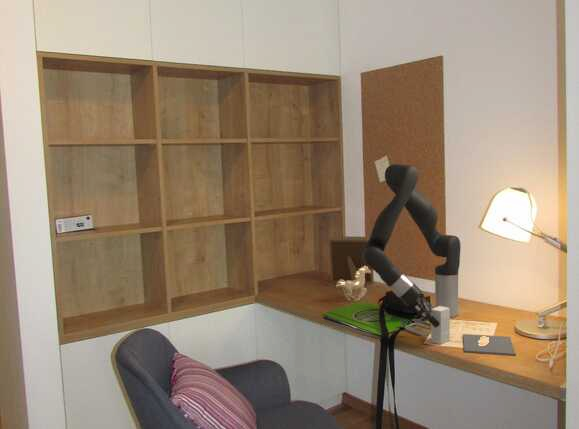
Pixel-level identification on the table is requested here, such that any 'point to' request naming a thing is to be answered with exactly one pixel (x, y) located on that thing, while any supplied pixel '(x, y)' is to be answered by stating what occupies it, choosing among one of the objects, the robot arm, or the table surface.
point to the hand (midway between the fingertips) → (438, 322)
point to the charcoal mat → (488, 345)
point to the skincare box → (441, 325)
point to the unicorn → (355, 283)
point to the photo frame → (348, 258)
